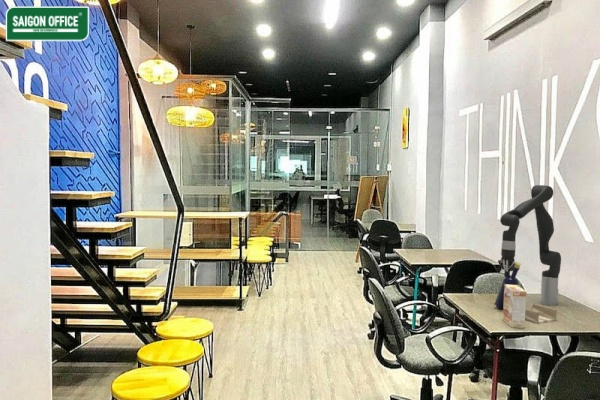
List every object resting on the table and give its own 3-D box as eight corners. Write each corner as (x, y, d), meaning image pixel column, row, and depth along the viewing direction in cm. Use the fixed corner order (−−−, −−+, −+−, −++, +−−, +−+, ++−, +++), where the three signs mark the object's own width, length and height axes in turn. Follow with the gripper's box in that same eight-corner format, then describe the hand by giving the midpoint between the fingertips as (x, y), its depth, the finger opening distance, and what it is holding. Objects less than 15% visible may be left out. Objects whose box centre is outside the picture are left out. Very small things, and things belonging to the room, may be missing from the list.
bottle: (511, 312, 293) (528, 269, 280) (495, 308, 294) (511, 266, 281) (508, 302, 301) (525, 261, 288) (493, 299, 302) (508, 257, 289)
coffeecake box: (502, 319, 275) (503, 284, 274) (515, 320, 274) (517, 284, 273) (510, 327, 260) (512, 290, 259) (525, 328, 259) (527, 291, 258)
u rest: (534, 314, 288) (534, 303, 287) (556, 320, 275) (556, 309, 275) (514, 316, 280) (515, 306, 280) (536, 323, 268) (537, 312, 268)
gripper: (522, 249, 290) (520, 279, 291) (503, 246, 302) (502, 275, 303) (513, 250, 287) (511, 280, 287) (494, 247, 298) (493, 275, 299)
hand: (506, 277), depth 295 cm, fingers closed
